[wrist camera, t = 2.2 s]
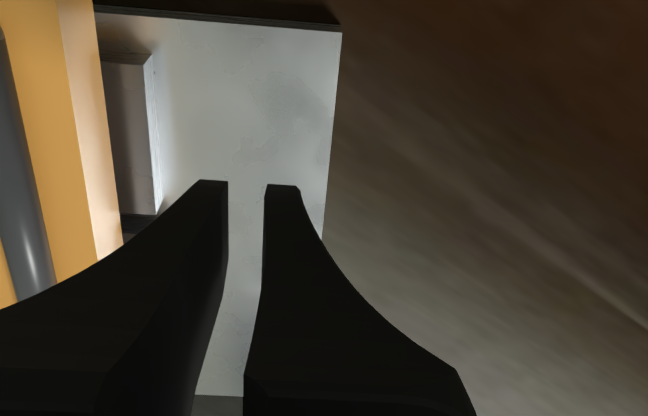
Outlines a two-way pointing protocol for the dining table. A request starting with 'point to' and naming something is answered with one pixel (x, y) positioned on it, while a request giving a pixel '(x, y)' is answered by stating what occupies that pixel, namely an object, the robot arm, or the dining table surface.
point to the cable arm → (52, 148)
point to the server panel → (218, 135)
